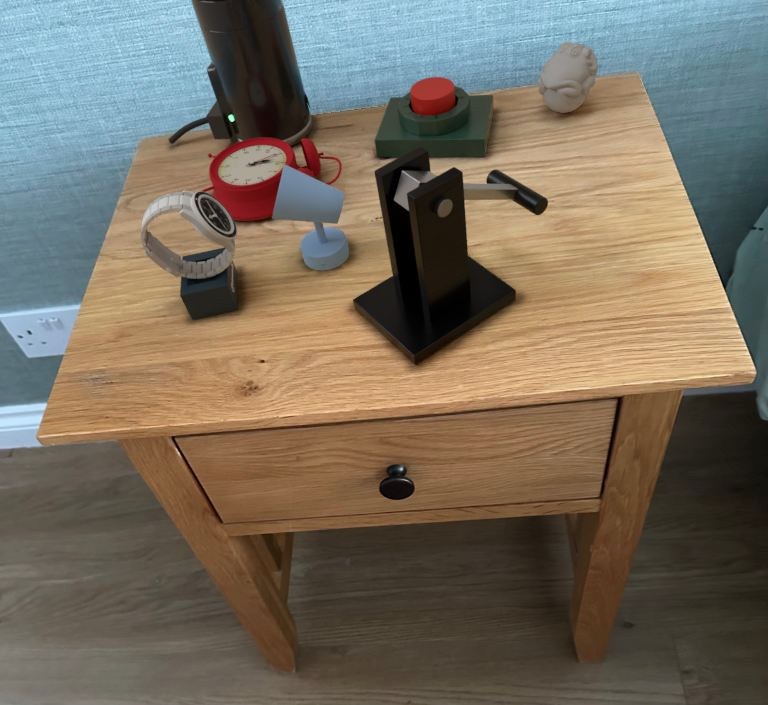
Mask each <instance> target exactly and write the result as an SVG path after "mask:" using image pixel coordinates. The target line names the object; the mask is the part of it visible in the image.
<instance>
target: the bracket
mask: <svg viewBox="0 0 768 705" xmlns="http://www.w3.org/2000/svg"><path fill="white" fill-rule="evenodd" d="M430 162H431V161H430V157H429V151H428V150H426V149H425V148H423V147H421V146H420V147H418V148H416V149H414V150H412V151H410V152H408V153H407V154H405V155H403V156H401V157H396V158H395V159H394V160H392V161H390V162H388V163H386V164H384V165H383V166H381V167H379V168H377V169H375V170H374V171H373V172H374V176H375V182H376V183H375V184H376V189H377V194H378V199H379V205H380V211H381V216H382V222H383V228H384V233H385V240H386V245H387V250H388V257H389V262H390V268H391V274H392V275H391V276H390V277H388V278H387V279H384V280H383V281H381V282H380V283H378V284H376V285H375V286H373V287H371V288H370V289H368V290H366V291H364V292H363V293H361V294H359V295H357V297H354V298H353V299H352V302H353V307H354V310H355V311H356V312H358V314H360V315H361V316H362V317H363V318H364V319H365V320H366V321H367V322H368V323H369V324H371V325H372V326H373V328H375V329H376V330H377V331H378V332H379V333H380V334H381V335H382V336H384V338H386V339H387V340H388V341H389V342H390V343H391V344H392V345H393V346H394V347H395V348H396V349H397V350H398V351H399V352H400V353H401V354H402V355H404V356H405V357H406V358H407V359H408V360H409V361H410V362H411V363H412V364H413V365H414V366H417V365H419V364H420V363H422V362H423V361H425V360H426V359H428V358H430V357H431V356H432V355H434V354H436V353H437V352H439V351H440V350H441V349H443V348H445V347H446V346H447V345H449V344H450V343H452V342H454V341H455V340H457V339H458V338H460V337H462V336H463V335H465V334H466V333H468V332H469V331H470V330H472V329H474V328H475V327H477V326H478V325H480V324H481V323H483V322H484V321H486V320H487V319H489V318H490V317H492V316H493V315H495V314H497V313H498V312H499V311H501V310H503V309H504V308H506V307H507V306H509V305H510V304H511V303H513V302H515V301H516V300H517V291H516V290H517V289H515V288H514V287H512V286H511V285H509V283H507V282H505V281H504V280H503V279H502V278H500V277H499V276H497V275H496V274H494V273H493V272H491V271H490V270H488V268H486V267H485V266H484V265H482V264H480V263H479V262H477V261H476V260H475V259H474V258H472V257H471V256H470V255H469V250H468V249H469V247H468V234H467V233H468V232H467V219H466V205H465V202H466V200H464V186H463V183H464V173H463V171H461V169H458V168H457V167H456V166H452V167H451V168H449V169H448V170H445V171H444V172H442V173H440V174H439V175H436V176H437V177H435V178H433V179H431V180H430V181H428V182H426V183H424V184H422V185H421V186H419V187H417V188H415V189H413V190H412V191H410V192H408V193H407V199H408V206H409V211H408V210H406V209H405V208H404V207H402V206H401V205H400V204H398V203H397V202H395V201H394V197H395V194H396V190H397V186H398V183H399V179H400V176H401V172H402V170H405V171H430V172H432V170H431V163H430Z"/></svg>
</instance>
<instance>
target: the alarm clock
mask: <svg viewBox="0 0 768 705" xmlns="http://www.w3.org/2000/svg"><path fill="white" fill-rule="evenodd" d="M300 145H301V150H302V153H303V156H304V161H305V164H306V165H304V166H299V164H298V162H297V156H296V154H295V152H294V150H293V149H292V146H289V145H288V144H287V143H286V142H284V141H282V140H279V139H275V138H267V137H263V138H253V139H248V140H244V141H241V142H238V143H235V144H233V145H232V144H231V145H229V146H228V147H225V148H224V149H223V150H221V151H220V152H218V153H217V154H216V155H213V154H212V153H207V154H208V155H207V157H208V158H209V159H211V158H212V160H211V162H210V164H209V167H208V176H209V180H210V183H211V186H209V187H206V188H203V189H202V190H200V191H203V192H206V193H207V192H210V191H212V190H213V192H212V194H211V195H212V196H213V197H215V198H216V199H217V200H218V201H220V202H221V203H222V204H223V205H224V207H225V208H226V209H227V210H228V212H229V213H230V214H231V216H232V218H233V220H234V221H245V222H246V221H247V222H249V221H250V222H251V221H259V220H264V219H268V218H272V216H273V211H274V207H275V202H276V198H277V193H278V189H279V184H280V180H281V176H282V171H283V167H284V164H285V165H287V166H289V167H291V168H294V169H296V170H298V171H300V172H302V173H304V174H306V175H308V176H310V177H313V178H315V179H316V178H317V177H319V176H320V175H321V172H322V164H321V160H334V161H335V162H338V166H339V167H338V172H337V175H336V176H335V177H334V178H333V179H332V180H331V181H327V182H326V183H325V182H324V183H325V184H327V185H329V186H331V185H333V184H334V183H335V182H337V180H338V179H339V178H340V176H341V174H342V170H343V167H342V166H343V164H342V162H341V159H339V158H338V157H335V156H324V154H325V153H324V151H321V152H318V149H317V147H316V144H315V143H314V141H312V140H311V139H310V138H307V137H305V138H304V139H301V140H300Z"/></svg>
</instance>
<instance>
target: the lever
mask: <svg viewBox="0 0 768 705" xmlns="http://www.w3.org/2000/svg"><path fill="white" fill-rule="evenodd" d="M437 176H438V175H437V174H435V173H433V172H432V171H431V172H430V171H405V170H402V172H401V176H400V179H399V183H398V186H397V190H396V194H395V197H394V201H395V202H397V203H398V204H400V205H401V206H402V207H404V208H405V209H406V210H408V211H409V206H408V199H407V193H408V192H410V191H412V190H413V189H415V188H417V187H419V186H421V185H422V184H424V183H426V182H428V181H430V180H431V179H433V178H435V177H437ZM485 182H486V183H473V182H471V183H470V182H469V183H467V182H466V183H465V182H463V186H464V201H495V200H496V201H510V200H511V201H512V202H514V203H515V204H517V205H519V206H520V207H522V208H524V209H526V211H529V212H530V213H532V214H534V215H535V216H540V215H542V214H544V213H545V211H546V210H547V208H548V206H549V200H548V198H547V197H545V196H544V195H541V194H540V193H538V192H537V191H535V190H533V189H531V188H530V187H528V186H526V185H524V184H523V183H521V182H519V181H518V180H516V179H515V178H513V177H511V176H509V175H508V174H506V173H504V172H503V171H502V170H501V171H500V170H499V169H496V168H495V169H492V170H491V171H490V172H489V173H488V175H487V176H486V181H485Z"/></svg>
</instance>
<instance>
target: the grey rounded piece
mask: <svg viewBox="0 0 768 705" xmlns="http://www.w3.org/2000/svg"><path fill="white" fill-rule="evenodd" d="M598 67H599V64H598V60H597V56H596V54H595V52H594V50H593V49H592V48H591V47H589V46H586V45H584V44H583V43H580V42H570V41H565V42H562V43H560V44H559V46H558V49H556V50H555V52H553V55H552V56H550V57H549V58H548V59H547V60H546V61H545V63H544V65H543V67H542V70H541V72H540V73H539V76H538V77H539V78H538V79H537V85H538V86H539V87H538V93H539V94H540V95H541V96H542V100H543V103H545V106H547V107H548V108H549V109H550V110H552V111H554V112H556V113H559V114H567V113H570V112H573V111H575V110H578V109H579V107H580V106H581V105H582V104H583V103H584V102H585V100H587V98H588V96H589V95H590V92H591V89H592V88H593V87H594V86H595V84H596V76H597V73H598V70H599V69H598Z"/></svg>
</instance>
